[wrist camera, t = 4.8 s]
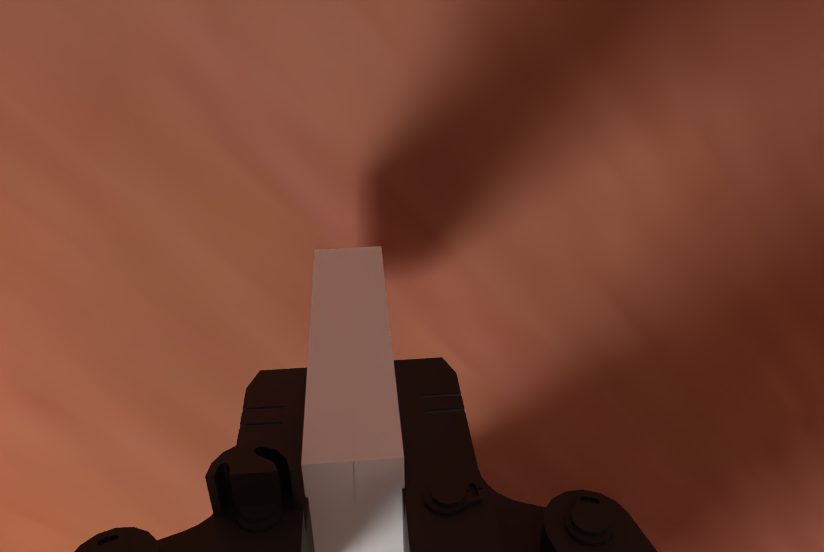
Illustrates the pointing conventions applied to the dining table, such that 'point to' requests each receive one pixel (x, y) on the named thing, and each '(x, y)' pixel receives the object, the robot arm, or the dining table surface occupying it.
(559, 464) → the dining table surface
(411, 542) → the robot arm
